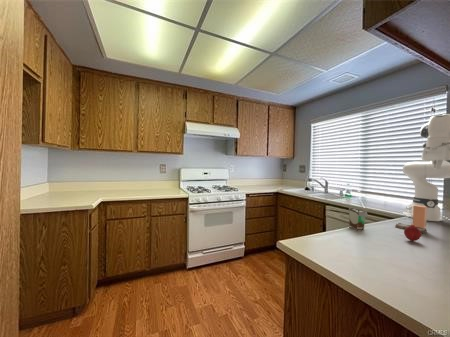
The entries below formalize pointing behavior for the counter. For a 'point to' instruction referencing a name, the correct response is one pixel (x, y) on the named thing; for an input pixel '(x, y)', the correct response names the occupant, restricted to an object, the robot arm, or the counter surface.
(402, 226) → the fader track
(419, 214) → the orange rectangular block
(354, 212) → the food container
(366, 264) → the counter surface
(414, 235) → the onion
